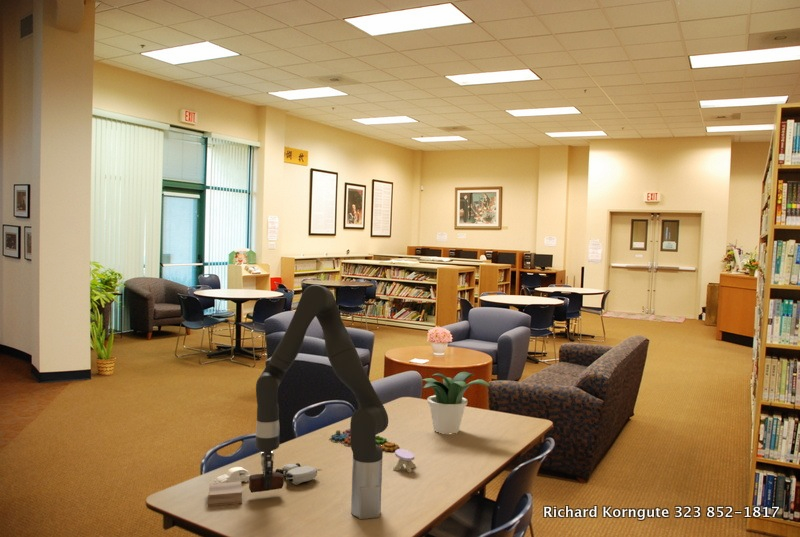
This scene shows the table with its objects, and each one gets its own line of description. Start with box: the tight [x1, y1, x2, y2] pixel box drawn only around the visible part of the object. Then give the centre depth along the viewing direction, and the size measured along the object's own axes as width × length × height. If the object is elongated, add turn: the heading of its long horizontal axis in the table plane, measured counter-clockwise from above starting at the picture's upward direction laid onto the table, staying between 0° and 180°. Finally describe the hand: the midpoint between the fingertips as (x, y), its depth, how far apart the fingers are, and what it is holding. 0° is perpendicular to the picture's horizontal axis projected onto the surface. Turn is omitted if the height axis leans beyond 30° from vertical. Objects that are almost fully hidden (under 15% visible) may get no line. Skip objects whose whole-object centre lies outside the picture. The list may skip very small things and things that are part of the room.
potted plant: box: [421, 371, 491, 435], centre depth 273 cm, size 32×35×26 cm
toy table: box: [393, 448, 416, 473], centre depth 226 cm, size 10×9×6 cm
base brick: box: [207, 481, 243, 507], centre depth 194 cm, size 9×10×4 cm
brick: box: [248, 472, 285, 493], centre depth 197 cm, size 11×4×5 cm, turn 113°
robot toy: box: [273, 462, 323, 485], centre depth 213 cm, size 12×4×15 cm
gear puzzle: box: [328, 428, 401, 452], centre depth 253 cm, size 31×16×4 cm, turn 54°
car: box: [213, 466, 251, 483], centre depth 208 cm, size 12×6×5 cm, turn 130°
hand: (267, 485), depth 197 cm, fingers closed on brick, 4 cm apart
